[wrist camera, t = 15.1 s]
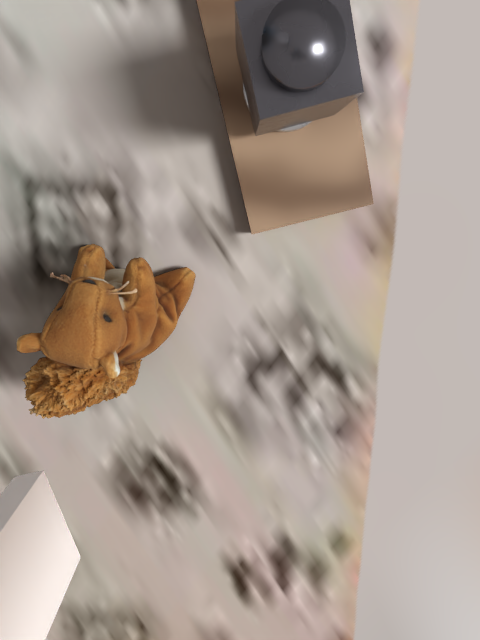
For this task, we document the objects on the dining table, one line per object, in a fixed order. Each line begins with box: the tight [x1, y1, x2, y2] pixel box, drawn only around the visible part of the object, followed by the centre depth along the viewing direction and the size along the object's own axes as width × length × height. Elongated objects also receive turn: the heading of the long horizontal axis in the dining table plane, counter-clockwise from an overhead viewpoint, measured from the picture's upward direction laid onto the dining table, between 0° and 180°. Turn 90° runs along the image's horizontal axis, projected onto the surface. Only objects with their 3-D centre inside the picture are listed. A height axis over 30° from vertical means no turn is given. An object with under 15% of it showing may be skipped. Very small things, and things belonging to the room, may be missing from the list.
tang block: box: [196, 0, 374, 234], centre depth 32 cm, size 20×10×6 cm, turn 14°
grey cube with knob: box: [235, 0, 364, 136], centre depth 28 cm, size 6×6×9 cm
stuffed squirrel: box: [16, 244, 195, 419], centre depth 33 cm, size 10×14×13 cm
